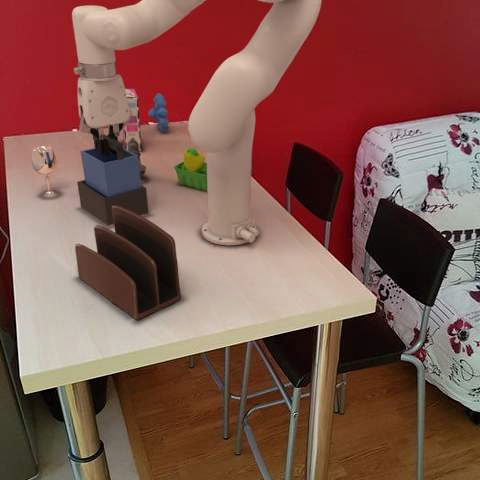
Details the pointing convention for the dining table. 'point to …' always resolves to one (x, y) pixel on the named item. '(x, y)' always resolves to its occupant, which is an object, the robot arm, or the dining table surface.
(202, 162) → the fruit basket
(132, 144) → the grey chess piece
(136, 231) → the letter holder
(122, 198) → the black tote
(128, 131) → the candy bar box
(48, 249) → the dining table surface
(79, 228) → the dining table surface
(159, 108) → the grapes
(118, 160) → the blue tote
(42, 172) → the wineglass
